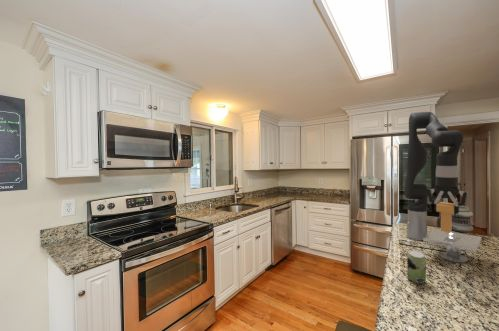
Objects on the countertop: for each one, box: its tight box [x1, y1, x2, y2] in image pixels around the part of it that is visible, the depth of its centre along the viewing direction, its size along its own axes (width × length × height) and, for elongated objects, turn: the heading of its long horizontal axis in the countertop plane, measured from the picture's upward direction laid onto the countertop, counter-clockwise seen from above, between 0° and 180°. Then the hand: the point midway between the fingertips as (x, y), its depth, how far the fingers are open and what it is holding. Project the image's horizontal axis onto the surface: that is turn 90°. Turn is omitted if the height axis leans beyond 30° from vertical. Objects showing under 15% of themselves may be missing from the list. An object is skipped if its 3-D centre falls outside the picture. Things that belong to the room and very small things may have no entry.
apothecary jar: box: [451, 205, 474, 234], centre depth 137 cm, size 12×12×18 cm
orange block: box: [435, 201, 455, 232], centre depth 101 cm, size 6×7×12 cm
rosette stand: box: [422, 228, 482, 264], centre depth 107 cm, size 18×20×13 cm
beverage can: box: [406, 250, 427, 284], centre depth 91 cm, size 6×7×12 cm
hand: (446, 212), depth 101 cm, fingers closed on orange block, 5 cm apart
